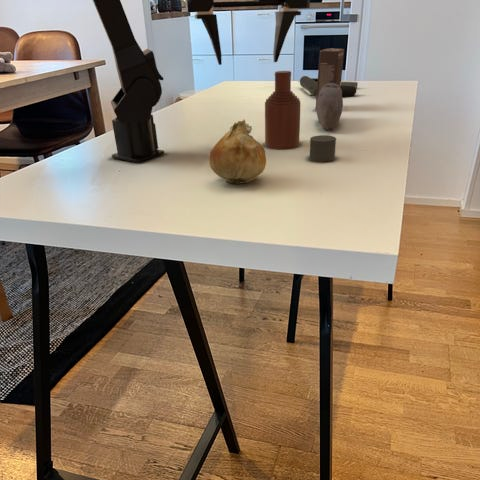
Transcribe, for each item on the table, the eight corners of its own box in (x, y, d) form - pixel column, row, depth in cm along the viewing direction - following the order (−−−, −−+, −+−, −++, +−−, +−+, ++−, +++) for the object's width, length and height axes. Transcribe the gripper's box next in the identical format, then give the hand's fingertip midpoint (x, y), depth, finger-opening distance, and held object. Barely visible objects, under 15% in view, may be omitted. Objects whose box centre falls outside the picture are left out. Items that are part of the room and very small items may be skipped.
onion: (202, 178, 70) (197, 120, 65) (252, 170, 72) (251, 113, 68) (222, 193, 64) (218, 130, 59) (275, 184, 66) (276, 123, 62)
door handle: (350, 76, 138) (295, 75, 137) (372, 85, 122) (310, 85, 120) (348, 88, 140) (294, 88, 139) (370, 100, 123) (309, 99, 122)
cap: (315, 163, 74) (316, 142, 72) (305, 157, 77) (305, 137, 76) (339, 160, 75) (340, 139, 73) (327, 154, 78) (328, 134, 77)
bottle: (288, 150, 81) (289, 74, 75) (258, 146, 84) (257, 73, 78) (305, 142, 85) (308, 70, 79) (276, 139, 88) (276, 69, 82)
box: (334, 111, 107) (338, 50, 101) (314, 110, 109) (317, 50, 102) (340, 106, 112) (345, 47, 105) (321, 106, 114) (325, 48, 107)
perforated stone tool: (339, 134, 89) (343, 93, 85) (311, 134, 90) (313, 93, 86) (342, 118, 101) (345, 81, 98) (317, 118, 102) (319, 82, 99)
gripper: (294, -53, 78) (291, 56, 86) (179, -51, 76) (188, 61, 84) (313, -61, 68) (308, 62, 77) (182, -59, 66) (192, 68, 75)
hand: (247, 63), depth 78 cm, fingers open, 9 cm apart
